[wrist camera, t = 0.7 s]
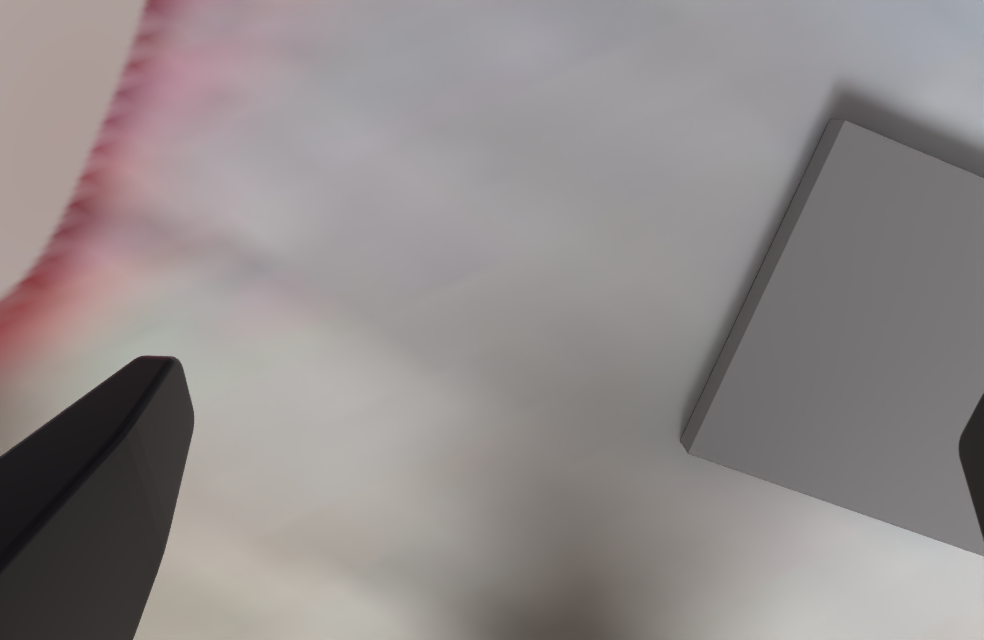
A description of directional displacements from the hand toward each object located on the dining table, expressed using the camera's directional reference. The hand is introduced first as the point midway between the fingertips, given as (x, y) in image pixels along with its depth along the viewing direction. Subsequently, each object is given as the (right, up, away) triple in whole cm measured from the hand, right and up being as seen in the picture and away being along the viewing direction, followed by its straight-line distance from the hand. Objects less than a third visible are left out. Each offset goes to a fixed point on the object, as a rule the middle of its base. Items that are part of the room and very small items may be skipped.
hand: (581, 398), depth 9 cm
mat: (+12, 0, +18) cm, 21 cm away
